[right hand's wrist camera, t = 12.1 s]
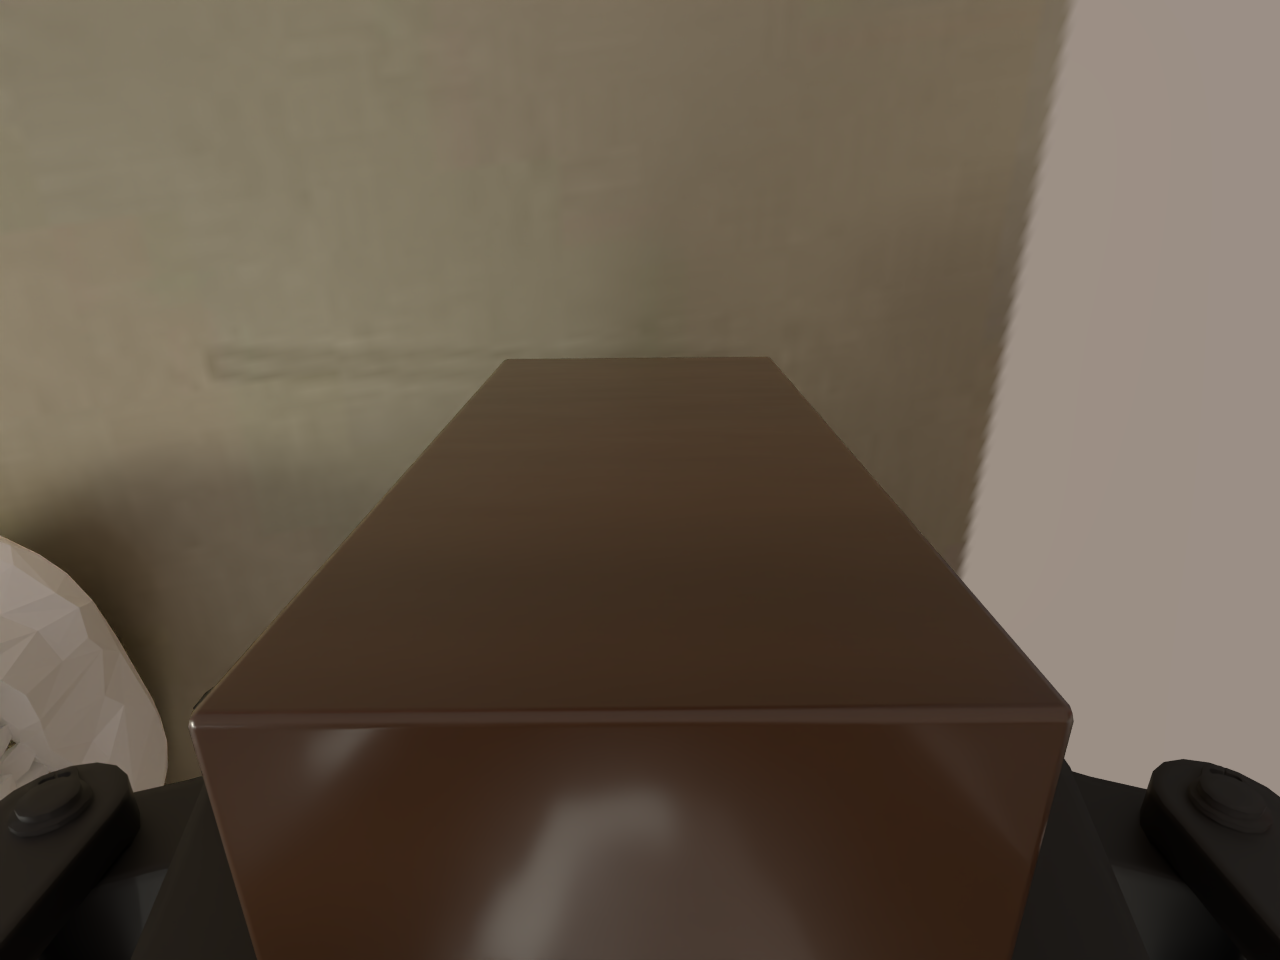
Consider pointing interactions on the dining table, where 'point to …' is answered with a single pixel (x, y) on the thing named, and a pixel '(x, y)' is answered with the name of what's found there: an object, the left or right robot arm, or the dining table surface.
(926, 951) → the walnut beam
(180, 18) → the dining table surface
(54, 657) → the skull
